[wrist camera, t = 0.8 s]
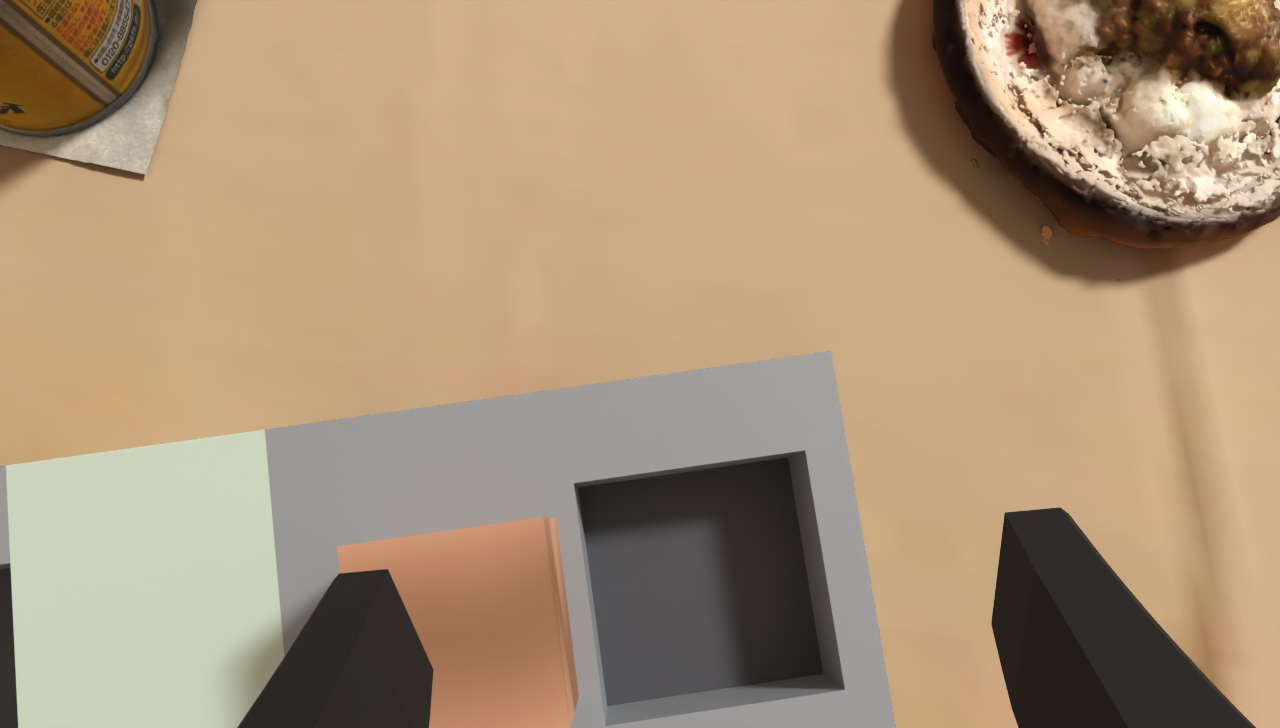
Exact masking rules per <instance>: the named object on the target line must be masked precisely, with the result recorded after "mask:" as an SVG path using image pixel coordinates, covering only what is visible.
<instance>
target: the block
mask: <svg viewBox="0 0 1280 728" xmlns="http://www.w3.org/2000/svg"><path fill="white" fill-rule="evenodd" d="M337 554H338V564H339V573H350V572H361V571H372V570H383V569H388V570H389V572H390V575H391V577H392V579H393V581H394V583H395V586H396V588H397V590H398V592H399V595H400V597H401V599H402V601H403V603H404V606H405V608H406V610H407V612H408V614H409V617H410V619H411V621H412V623H413V625H414V628H415V630H416V632H417V634H418V636H419V639H420V641H421V643H422V645H423V648H424V650H425V652H426V654H427V656H428V659H429V661H430V663H431V665H432V667H433V683H432V697H431V710H430V722H429V728H570V727H571V723H572V720H573V716H574V712H575V708H576V705H577V701H578V697H579V691H578V683H577V675H576V667H575V659H574V652H573V644H572V636H571V628H570V620H569V613H568V605H567V597H566V589H565V581H564V574H563V566H562V558H561V550H560V542H559V535H558V527H557V519H556V518H549V517H538V518H531V519H524V520H517V521H510V522H503V523H496V524H489V525H482V526H475V527H468V528H461V529H454V530H447V531H440V532H433V533H426V534H419V535H412V536H405V537H398V538H391V539H384V540H377V541H370V542H363V543H356V544H349V545H342V546H337Z"/></svg>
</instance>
